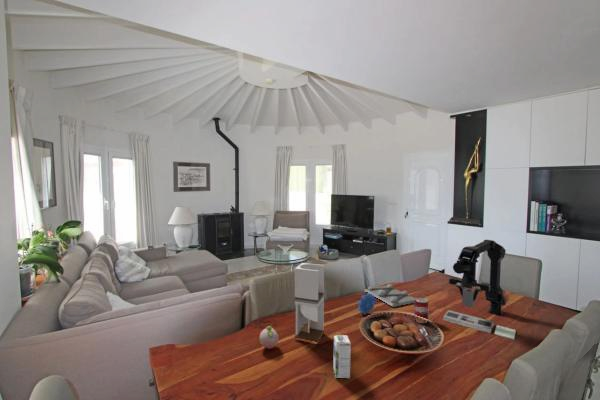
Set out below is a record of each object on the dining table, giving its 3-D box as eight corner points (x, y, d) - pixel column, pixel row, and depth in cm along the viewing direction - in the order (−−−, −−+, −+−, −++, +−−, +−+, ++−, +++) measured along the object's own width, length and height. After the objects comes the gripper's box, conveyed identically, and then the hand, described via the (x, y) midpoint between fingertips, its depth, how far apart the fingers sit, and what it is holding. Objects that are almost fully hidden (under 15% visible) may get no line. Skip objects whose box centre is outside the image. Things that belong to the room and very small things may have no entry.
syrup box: (332, 370, 116) (333, 335, 115) (347, 369, 116) (347, 334, 116) (335, 379, 110) (336, 342, 110) (350, 378, 111) (351, 342, 110)
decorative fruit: (257, 345, 134) (257, 324, 133) (274, 341, 137) (274, 321, 137) (262, 356, 125) (262, 333, 125) (280, 352, 128) (280, 330, 128)
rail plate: (448, 313, 167) (448, 309, 167) (493, 325, 153) (493, 321, 153) (443, 320, 159) (443, 316, 159) (490, 333, 145) (490, 329, 145)
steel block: (464, 302, 159) (464, 287, 159) (474, 304, 156) (475, 289, 156) (462, 305, 155) (462, 290, 155) (472, 307, 152) (473, 292, 152)
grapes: (371, 309, 173) (371, 289, 172) (377, 314, 167) (378, 293, 166) (354, 312, 169) (354, 292, 168) (360, 317, 163) (360, 296, 162)
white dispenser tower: (294, 340, 138) (294, 268, 137) (302, 329, 148) (302, 262, 147) (317, 344, 134) (317, 271, 133) (323, 333, 144) (323, 265, 143)
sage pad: (496, 326, 152) (496, 325, 152) (515, 331, 147) (515, 330, 147) (494, 334, 144) (494, 333, 144) (514, 339, 139) (514, 338, 139)
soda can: (429, 325, 153) (430, 303, 153) (415, 324, 155) (415, 302, 154) (426, 319, 160) (427, 298, 160) (412, 317, 162) (413, 297, 161)
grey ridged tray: (419, 303, 183) (419, 292, 183) (392, 309, 174) (393, 297, 174) (387, 288, 210) (387, 278, 210) (363, 292, 202) (363, 282, 202)
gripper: (446, 271, 155) (446, 299, 155) (487, 278, 143) (486, 309, 143) (451, 266, 163) (450, 293, 164) (490, 273, 151) (489, 302, 152)
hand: (468, 299), depth 156 cm, fingers closed on steel block, 5 cm apart
